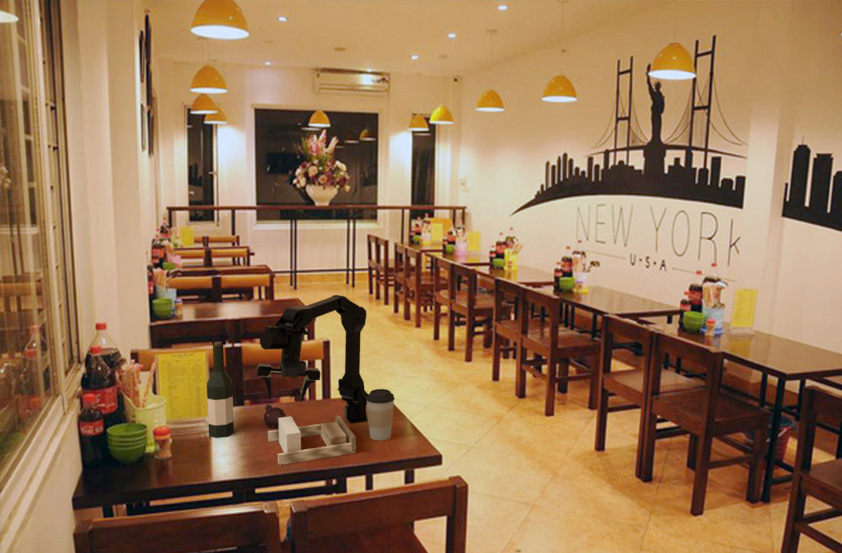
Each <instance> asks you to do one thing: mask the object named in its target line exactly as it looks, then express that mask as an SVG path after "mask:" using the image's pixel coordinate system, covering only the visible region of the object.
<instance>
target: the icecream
mask: <svg viewBox="0 0 842 553" xmlns="http://www.w3.org/2000/svg"><path fill="white" fill-rule="evenodd" d="M264 408H265V412H264V414H263V418H262V419H263V422H264V424H265V425H266V427H267V428H268V427H269V428H271V429H275V428H279V419H278V418H282V417H287V416H286V413H285V412H284V410H283V409H282V408H279V407H277V406H274V407H273V406H272V405H271V404H266V405H265V406H264Z"/></svg>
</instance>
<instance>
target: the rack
mask: <svg viewBox="0 0 842 553" xmlns="http://www.w3.org/2000/svg"><path fill="white" fill-rule="evenodd" d="M334 419H335V422H337V423H338V425H339V426H340V427H341V429H342V430H343V432H344V433H345V434H346V442H347V443H345V444H338V445H332V446H327V445H326V446H318V447H314V448H306V449H301V450H299V451H292V452H286V453H284V452H280V453H277V464H279V465H278V466H282V464H283V465H289V463H290V464H294V463H295V464H296V463H300V462H308V461H314V460H320V459H326V458H333V457H339V456H345V455H351V454H356V453H357V443H356V442H357V438H356V435H355V434H354V433H353V432H352V430H351V429H350V428H349V426H348V425H347V423H346V422H345V421H344V420H343V419H342V418H341V416H340V415H335V418H334ZM329 423H331V421H329ZM321 424H324V422H323V423H317V424H310V425H303V426H297V427H298V429H299V431H300V432H301V438H304V437H310V436H311V437H312V436H317V435H318V436H319V435H321ZM267 441H268V443H269V442H276V441H279V429H274V430H267Z"/></svg>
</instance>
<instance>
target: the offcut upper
mask: <svg viewBox="0 0 842 553" xmlns="http://www.w3.org/2000/svg"><path fill="white" fill-rule="evenodd" d="M330 422H331V421H330ZM330 422H325V423H324V422H323V423H324V424H323V423H320V424H321V432H322V433H323V435H324V437H325V438H326V440H327V441H328V443H329V445H330V446H332V445H338V444H345V443H346V434H345V433H344V432H343V430H342V429H341V427H340V426H339V425H338V423H337V422H336V421H332V422H331V423H330Z"/></svg>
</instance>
